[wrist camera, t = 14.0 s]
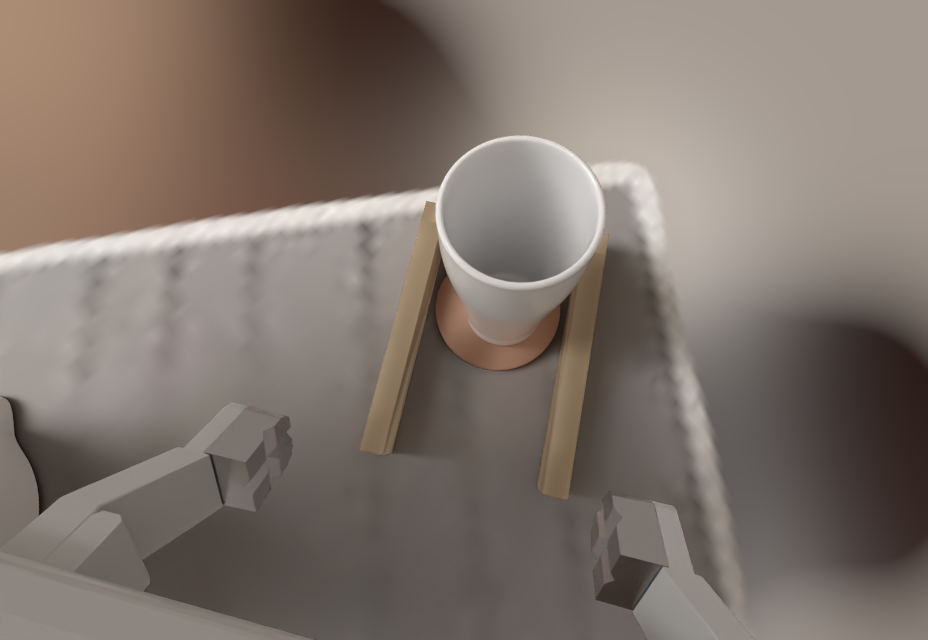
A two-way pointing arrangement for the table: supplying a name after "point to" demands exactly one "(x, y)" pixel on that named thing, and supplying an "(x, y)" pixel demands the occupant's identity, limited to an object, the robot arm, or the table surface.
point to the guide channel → (487, 354)
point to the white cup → (517, 232)
